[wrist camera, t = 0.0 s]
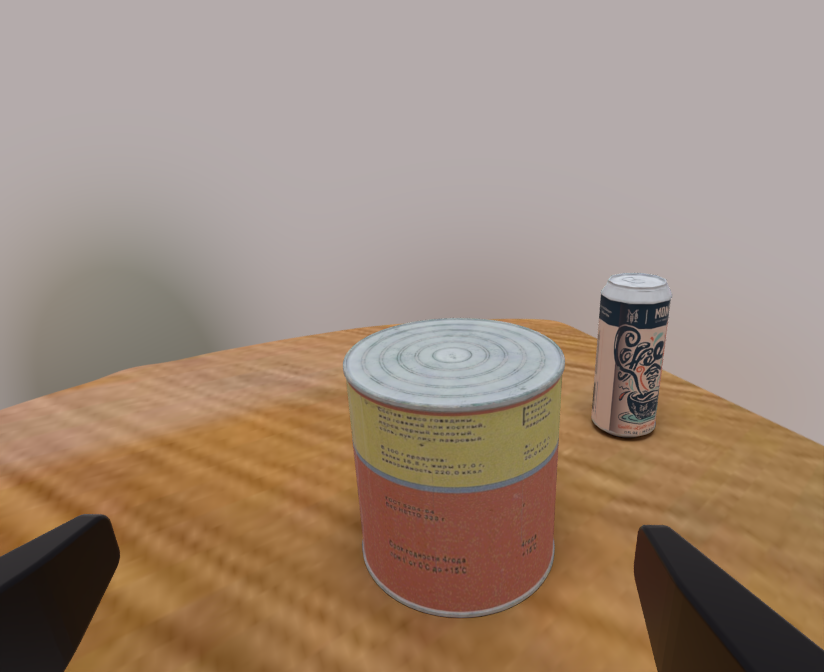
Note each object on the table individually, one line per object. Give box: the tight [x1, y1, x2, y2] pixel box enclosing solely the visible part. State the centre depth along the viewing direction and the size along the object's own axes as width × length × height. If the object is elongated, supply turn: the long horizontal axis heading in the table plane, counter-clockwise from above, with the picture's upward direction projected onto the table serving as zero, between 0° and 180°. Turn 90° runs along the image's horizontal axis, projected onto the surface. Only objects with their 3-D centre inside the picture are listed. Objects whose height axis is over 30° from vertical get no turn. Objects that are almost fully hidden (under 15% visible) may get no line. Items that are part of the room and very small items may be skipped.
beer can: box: [591, 273, 672, 437], centre depth 41 cm, size 5×5×12 cm
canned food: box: [343, 318, 565, 618], centre depth 30 cm, size 11×11×12 cm
